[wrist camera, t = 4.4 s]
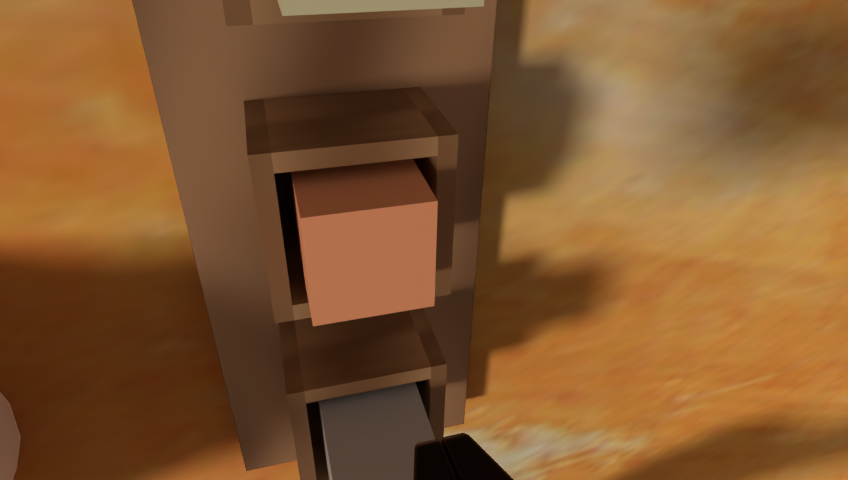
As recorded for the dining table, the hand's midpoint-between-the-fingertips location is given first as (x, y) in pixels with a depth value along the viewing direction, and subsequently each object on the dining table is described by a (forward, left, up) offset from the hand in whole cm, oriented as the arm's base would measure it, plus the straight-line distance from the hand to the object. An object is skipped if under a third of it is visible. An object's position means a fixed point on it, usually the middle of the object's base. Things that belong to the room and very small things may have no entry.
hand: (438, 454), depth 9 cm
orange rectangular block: (0, 0, -10) cm, 10 cm away
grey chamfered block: (0, +8, -8) cm, 11 cm away
